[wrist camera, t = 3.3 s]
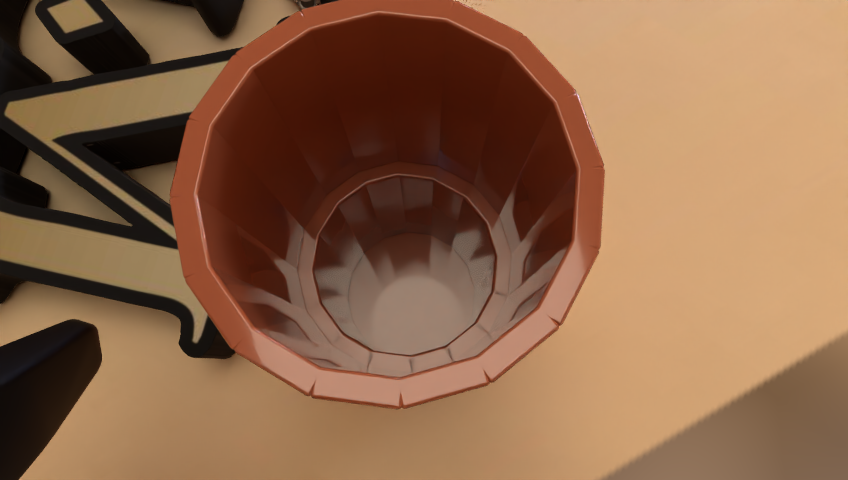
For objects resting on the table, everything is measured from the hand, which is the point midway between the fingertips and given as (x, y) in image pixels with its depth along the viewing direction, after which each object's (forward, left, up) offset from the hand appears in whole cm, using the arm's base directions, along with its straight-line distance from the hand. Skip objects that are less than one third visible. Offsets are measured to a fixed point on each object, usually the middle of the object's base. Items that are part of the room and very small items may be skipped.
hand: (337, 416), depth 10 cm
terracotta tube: (+3, +1, -10) cm, 11 cm away
